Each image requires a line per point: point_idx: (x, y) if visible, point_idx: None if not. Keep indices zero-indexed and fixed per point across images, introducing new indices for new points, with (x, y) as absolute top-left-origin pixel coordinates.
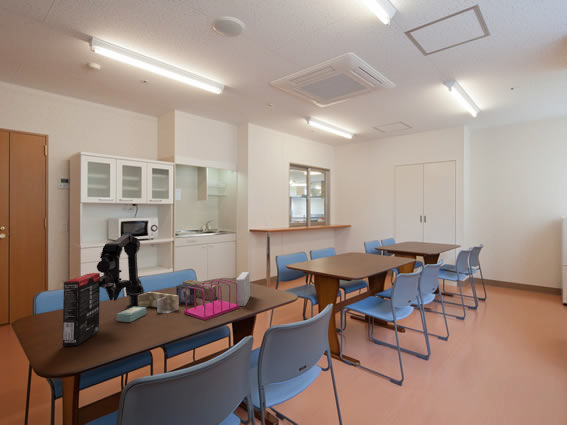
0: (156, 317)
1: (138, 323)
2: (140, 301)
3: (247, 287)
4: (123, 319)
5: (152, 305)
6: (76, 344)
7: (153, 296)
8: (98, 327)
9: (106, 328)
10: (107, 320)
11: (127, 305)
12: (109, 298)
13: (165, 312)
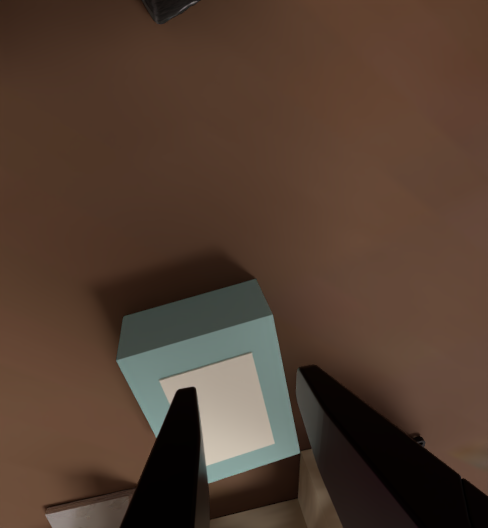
0: (41, 451)
1: (22, 331)
2: (321, 511)
3: None
4: (194, 306)
5: (274, 511)
6: None
7: None
8: (144, 2)
9: (160, 118)
10: (337, 247)
11: (422, 441)
12: (334, 384)
13: (69, 513)
